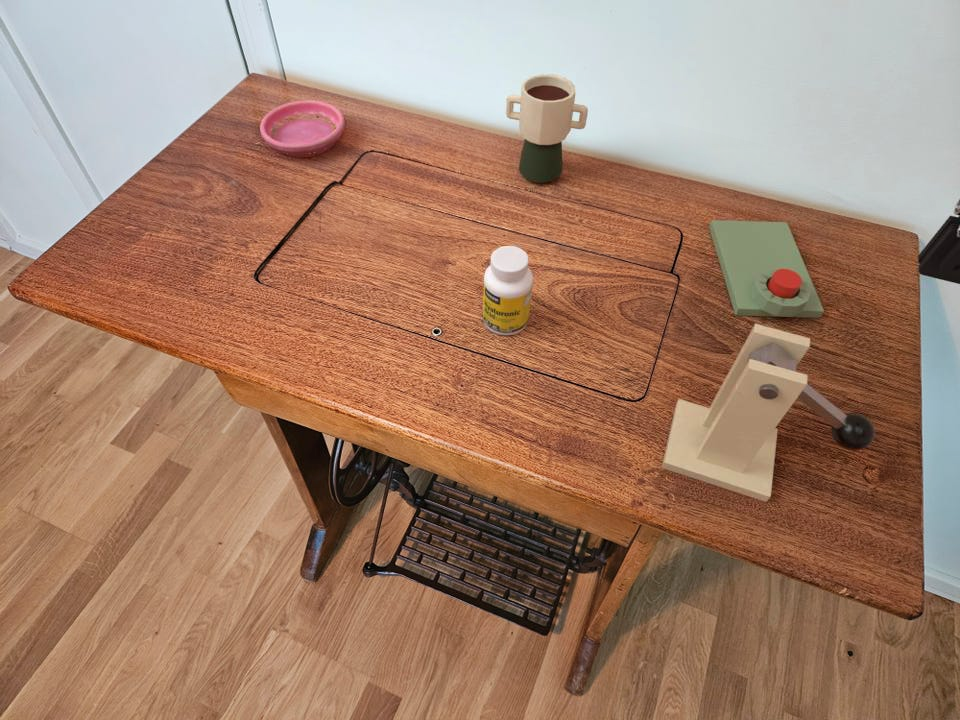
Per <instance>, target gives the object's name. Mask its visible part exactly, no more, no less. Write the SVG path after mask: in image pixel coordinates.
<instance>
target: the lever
mask: <svg viewBox="0 0 960 720" xmlns="http://www.w3.org/2000/svg"><path fill="white" fill-rule="evenodd" d="M750 359H752V360H756V361H760V362H763V363H767V364H770V365H774V366H777V367H781V368H784V369H788V370H792V371H795V372H797V366H798V365H797V360H796V359H794V358H793V357H792V356H791V355H789V354H788V353H787V352H786V351H785V350H783V349H782V348H781V347H780V346H778V345H777V344H776V343H775V342H771V343H769V344H767V345H765V346H763V347H761V348H759V349H757V350H755V351H752V352H750V353H749V359H748V362H749V360H750ZM796 365H797V366H796ZM797 399H798V400H799V401H800V402H802V403H803V404H804V405H805V406H806V407H808V408H809V409H810V410H811V411H813V412H814V413H816V415H818V416H819V417H820V418H821V419H823V420H824V421H825V422H827V423H828V424H829V425H831V436H832V439H833V440H834V441H835V443H836V444H837V445H838V446H839V447H841V448H842V449H845V450H848V451H849V450H850V451H861V450H864V449H866V448H867V447H869V446H871V444H872V443H873V441H874V439H875V436H876V428H875V426H874V423H873V422H872V421H871V420H870V419H869V418H868V417H867V416H866V415H863V414H861V413H858V412H847V413H845V412H843V411H842V410H841V409H839V408H838V407H837V406H836V405H834V404H833V403H832V402H831V401H830V400H828V399H827V398H826V397H825V396H823V394H821V393H820V392H818V391H817V390H816V389H814V388H813V386H811V385H810V384H808V383H807V385H806V387H805V388H804V389H803V391H802V392H801V393H800V395H799V396H798V397H797Z"/></svg>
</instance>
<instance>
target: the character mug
mask: <svg viewBox="0 0 960 720" xmlns="http://www.w3.org/2000/svg"><path fill="white" fill-rule="evenodd" d="M575 101H576V86H575V85H574V84H573V82H572V81H571V80H570V79H568V78H566V77H563V76H561V75H557V74H551V73H550V74H548V73H547V74H545V73H544V74H537V75H533V76H531V77H529V78H527V79H525V81H524V82H523V83H522V84H521V91H520V95H516V94H510V95H507V97H506V105H505V107H506V108H505V115H506V118H508V119H510V120H516V121H519V123H518V129H519V132H520V135H521V136H522V138H523V139H524V140H523V145H522V149H521V153H520V158H519V165H518V171H519V172H520V174H521V176H522V177H523V178H525V179H526V180H528V181H529V182H532V183H537V184H544V183H549V182H552V181H555V180H556V179H558V178H559V177H560V175H561V174H562V173H563V141H565V140H566V139H567V137H568V135H569V133H570V132H571V130H572V129H575V130H583V129H585V128H586V126H587V119H588V113H589V110H588V107H587V106H586V105H584V104H577V103H575ZM514 104H518V105H519V104H520V106H519V111H514V107H515V106H514ZM574 113H578V114H579V117H578V120H573V115H574Z"/></svg>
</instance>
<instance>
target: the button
mask: <svg viewBox="0 0 960 720" xmlns="http://www.w3.org/2000/svg"><path fill="white" fill-rule="evenodd" d="M801 284H802V279H801V277H800V276H799V275H798V274H797V273H796V272H794V271H792V270H789V269H779V270H777V271H775V272H774V274H773V276H772V277H771V279H770V281H769V283H768V289H769V291H770V292H771V293H772V294H773V295H775V296H778V297H780V298H785V299H789V298H792V297H794V296H795V295H796V293H797V291H798V290H799V288H800V286H801Z"/></svg>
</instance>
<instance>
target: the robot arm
mask: <svg viewBox="0 0 960 720" xmlns="http://www.w3.org/2000/svg"><path fill="white" fill-rule="evenodd" d="M954 215H956V216H954ZM917 262H918V264H919V265H918V273H919V274H920V275H921V276H924V277H929V278H932V279H937V280H941V281H946V282H949V283H954V284H958V285H960V198H959V199H958V201H957V202H956V203H955V206H954V208H953V215H949V216H948V218H947V219H946V220H945V221H944V223H943V224H942V225H941V227H939V229H938V230H937V231H936V233H935V234H934V235H933V236H932V238H931V239H930V240H929V241H928V243H927V244H926V245H925V246H924V247H923V249H922V250H921V251H920V253H919V254H918V255H917Z"/></svg>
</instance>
